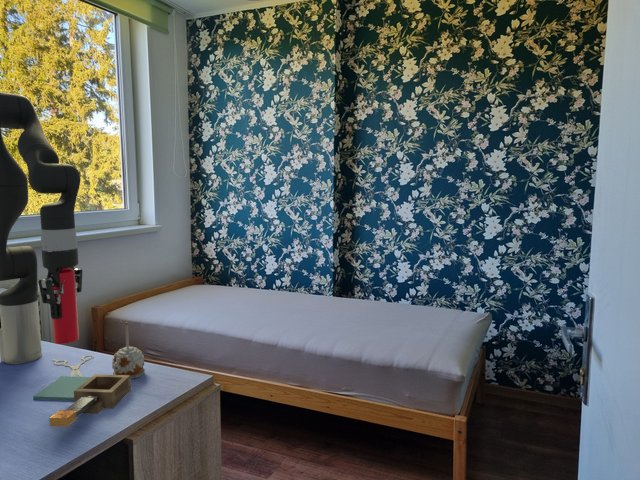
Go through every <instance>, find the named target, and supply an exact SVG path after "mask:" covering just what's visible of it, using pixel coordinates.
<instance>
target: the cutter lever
mask: <svg viewBox="0 0 640 480" xmlns="http://www.w3.org/2000/svg"><path fill="white" fill-rule="evenodd" d="M98 399H99V397H98V396H81V398H80V399H79V400H77V401H76V402H74V403H72V404H71V405H69V406H68V407H67V408H65V409H64V410H61V409H59V410H58V411H56V413H54V414H52V415H51V416H50V417H49V426H50V427H61V428H62V427H63V428H64V427H65V428H68V427H69V426H71V425H72V424H73V423H74V422H76V420H77V418H78V417H80V416H81V415H82V414H84V413H83V412H84V411H85V410H87V409H88V408H89V407H90V406H91V405H93V404H94V402H97V401H98Z"/></svg>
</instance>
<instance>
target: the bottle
mask: <svg viewBox="0 0 640 480" xmlns="http://www.w3.org/2000/svg"><path fill="white" fill-rule="evenodd" d="M64 279H65V281H64ZM63 281H64V282H63ZM62 282H63V284H64V294H62V297H61V302H60V303H61V309H62V318H60V319H52V318H51V321H52V334H53V335H52V336H53V343H54V344H58V345H59V344H60V345H61V344H63V345H64V344H70V343H73V342H77V341H78V340H80V332H79V331H80V330H79V318H78V317H79V315H78V302H77V301H78V299H77V296H76V284H77V283H75V271H74V270H73V269H71V268H64V269H62V271H61V272H60V285H61V283H62ZM53 289H54V290H56V291H58V290H59V289H60V286H59V287H53ZM56 297H57V294H55V299H56Z"/></svg>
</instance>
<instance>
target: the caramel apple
mask: <svg viewBox="0 0 640 480" xmlns="http://www.w3.org/2000/svg"><path fill="white" fill-rule="evenodd" d="M124 328H125V329H124V330H125V331H124V333H125V334H124V335H125V347H122V348H120V349H118V351H116V352H115V353H114V354H113V357H112V365H111V367H112V370H114V371H113V373H112V375H130V380H132V379H136V378H139V377H141V376H143V374H144V373H145V368H144V366H145V354H143V351H142V350H140V349H139V348H138V347H134V346H130V337H129V336H130V335H129V334H130V333H129V321H125V322H124Z"/></svg>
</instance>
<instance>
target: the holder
mask: <svg viewBox="0 0 640 480" xmlns="http://www.w3.org/2000/svg"><path fill="white" fill-rule="evenodd" d="M90 377H91V378H90V379H88V380H87V381H86V382H85V383H83V384H82V385H81V386H80V387H78V388H77V389H76V390H75V391H74V401H73V402H74V403H75V402H76V401H77V400H79V399H80V398H81V396H98V397H99V399H98V401H97V402H94V404H93V405H91V406H90V407H89V408H88V409H87V410H85V411H84V412H83V413H82V414H84V415H85V414H87V415H88V414H89V415H91V414H93V415H99V414H100V413H101V412H102V411H103V410H104V409H110V410H111V409H114V408H115V407H116V406H117V405H118V404H119V403H120V402H121V401H122V400H123V399H124V398H125V397H126V396H127V395H128V394H129V393H130V392H131V379H130V375H113V374H97V373H95V374H94V375H92V376H90Z"/></svg>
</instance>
